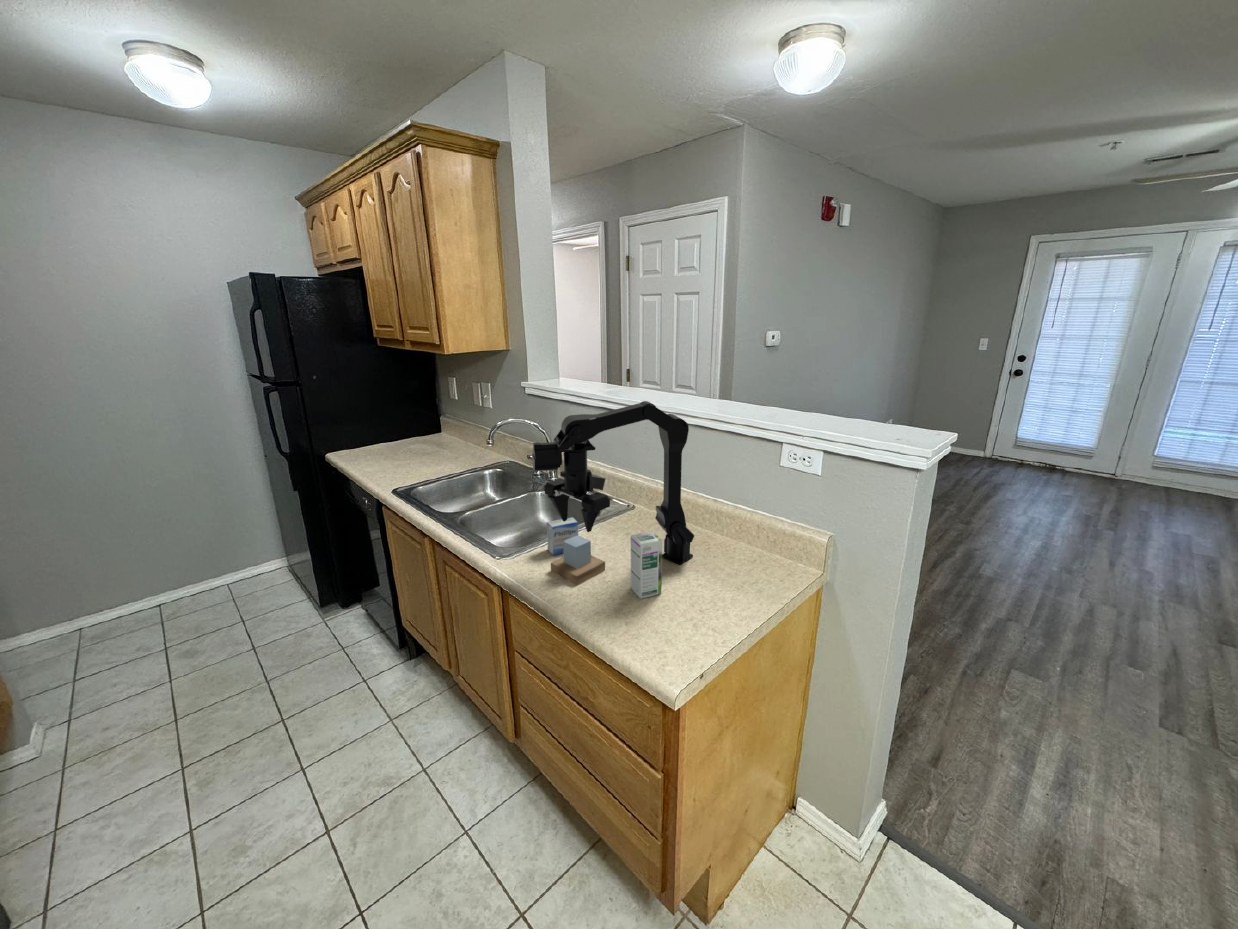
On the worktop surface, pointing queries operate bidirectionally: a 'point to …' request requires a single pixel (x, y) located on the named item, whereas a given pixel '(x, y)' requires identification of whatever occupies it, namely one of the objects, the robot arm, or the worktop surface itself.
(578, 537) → the slate block
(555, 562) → the walnut block
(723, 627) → the worktop surface
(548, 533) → the medicine box
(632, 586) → the syrup box
